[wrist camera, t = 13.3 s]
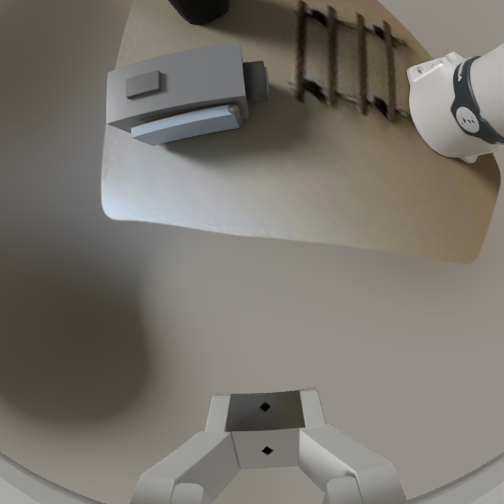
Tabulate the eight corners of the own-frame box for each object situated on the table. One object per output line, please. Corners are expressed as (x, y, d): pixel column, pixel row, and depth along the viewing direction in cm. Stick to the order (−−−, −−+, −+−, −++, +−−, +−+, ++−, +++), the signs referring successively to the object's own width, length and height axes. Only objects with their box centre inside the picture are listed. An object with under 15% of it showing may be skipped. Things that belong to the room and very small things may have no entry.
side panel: (242, 118, 34) (238, 102, 27) (243, 127, 34) (239, 112, 27) (152, 137, 35) (130, 127, 28) (153, 145, 35) (131, 137, 28)
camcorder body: (264, 73, 34) (264, 36, 23) (269, 117, 35) (271, 91, 25) (138, 94, 35) (104, 70, 24) (140, 137, 36) (103, 122, 26)
